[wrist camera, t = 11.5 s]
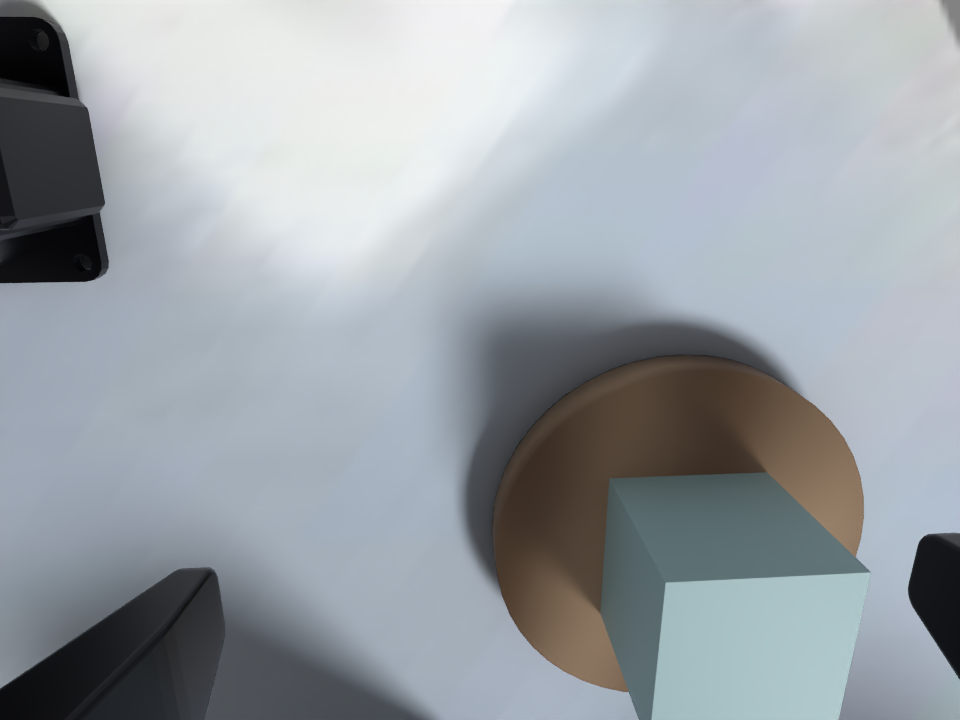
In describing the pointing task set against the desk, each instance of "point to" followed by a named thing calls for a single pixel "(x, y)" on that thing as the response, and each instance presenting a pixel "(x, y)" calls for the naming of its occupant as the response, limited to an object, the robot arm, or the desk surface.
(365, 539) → the desk surface
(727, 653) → the teal block
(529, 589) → the walnut base
